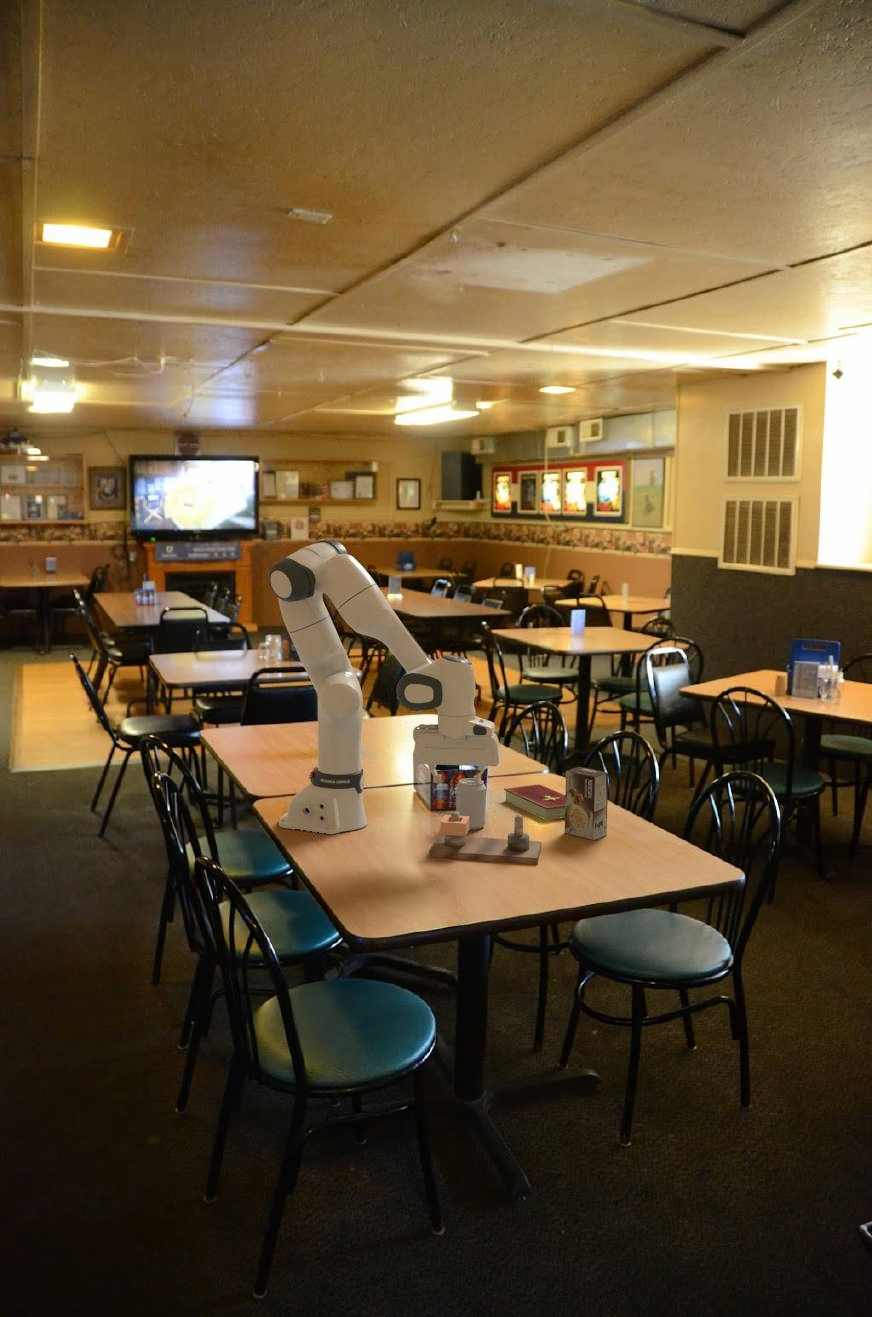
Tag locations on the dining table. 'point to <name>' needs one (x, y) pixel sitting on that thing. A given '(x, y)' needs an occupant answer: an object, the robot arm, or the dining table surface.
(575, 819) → the coffee box
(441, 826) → the collar
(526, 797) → the hardcover book
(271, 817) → the dining table surface
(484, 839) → the stand board
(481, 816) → the can
